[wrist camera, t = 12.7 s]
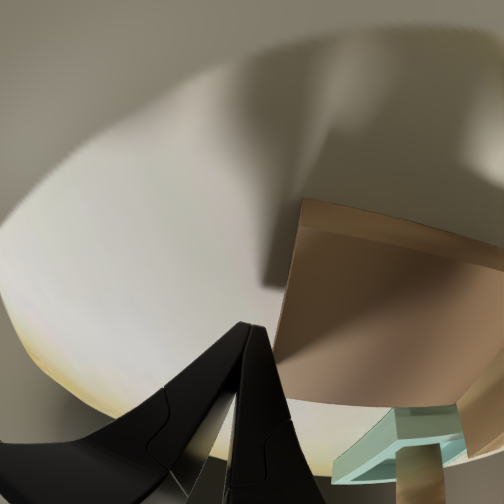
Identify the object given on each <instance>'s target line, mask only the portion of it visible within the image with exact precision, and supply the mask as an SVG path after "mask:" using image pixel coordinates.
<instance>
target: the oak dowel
mask: <svg viewBox="0 0 504 504" xmlns="http://www.w3.org/2000/svg"><path fill="white" fill-rule="evenodd" d="M395 457H396V482H397V483H396V485H397V486H396V490H397V494H396V498H397V499H396V503H397V504H446V500H445V499H446V497H445V482H444V471H443V462H442V454H441V447H440V443H435V444H427V445H417V446H406V447H402V448H401V449H399V450H398V451H397V452H395Z"/></svg>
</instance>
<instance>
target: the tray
mask: <svg viewBox="0 0 504 504" xmlns="http://www.w3.org/2000/svg"><path fill="white" fill-rule="evenodd" d="M435 443H440V447H441V454H442V462H443V467H445V466H446V465H448V464H450V463H451V462H453V461H454V460H456V459H457V458H459V457H460V456H462V455H463V454H465V453H466V452H467V449H466V444H465V439H464V434H463V429H462V425H461V421H460V416H459V412H458V409H457V405H451V406H435V407H393V408H392V409H391V410H390V412H389V413H388V414H387V415H386V416H385V417H384V418H383V419H382V420H381V421H380V422H379V423H378V424H377V425H375V426H374V427H373V428H372V429H371V430H370V431H369V432H368V433H367V434H366V435H365V436H364V437H363V438H361V439H360V440H359V441H358V442H357V443H356V444H355V445H353V446H352V447H351V448H350V449H349V450H347V451H346V452H345V453H344V454H343V455H341V456H340V457H339V458H338V459H336V460H335V461H334V462H333V471H332V483H331V484H368V483H382V482H393V481H396V457H395V452H397V451H398V450H399V449H401V448H402V447H406V446H417V445H427V444H435Z"/></svg>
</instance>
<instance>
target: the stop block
mask: <svg viewBox="0 0 504 504" xmlns="http://www.w3.org/2000/svg"><path fill="white" fill-rule="evenodd" d="M456 405H457V409H458V412H459V416H460V421H461V425H462V429H463V434H464V439H465V444H466V449H467V455H468V458H471V457H475V456H478V455H481V454H485V453H488V452H491V451H494V450H496V449H499V448H500V447H502V446H503V445H504V345H503V347H502V348H501V349H500V351H499V352H498V354H497V355H496V356H495V358H494V359H493V360H492V362H491V363H490V364H489V365H488V367H487V368H486V369H485V370H484V372H483V373H482V374H481V375H480V376H479V378H478V379H477V380H476V381H475V382H474V383H473V385H472V386H471V387H470V388H469V389H468V390H467V391H466V392H465V393H464V394H463V396H462V397H461V398H460V399H459V400H458V401H457V402H456Z"/></svg>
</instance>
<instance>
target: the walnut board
mask: <svg viewBox="0 0 504 504" xmlns="http://www.w3.org/2000/svg"><path fill="white" fill-rule="evenodd" d="M503 345H504V250H503V249H500V248H497V247H495V246H492V245H489V244H486V243H482V242H479V241H476V240H473V239H470V238H467V237H463V236H460V235H457V234H453V233H450V232H447V231H443V230H440V229H436V228H433V227H429V226H425V225H421V224H418V223H414V222H410V221H406V220H402V219H398V218H394V217H390V216H386V215H382V214H377V213H373V212H369V211H364V210H360V209H355V208H350V207H346V206H341V205H336V204H331V203H326V202H321V201H316V200H310V199H305V198H303V199H302V205H301V211H300V217H299V222H298V228H297V233H296V238H295V244H294V249H293V254H292V259H291V264H290V269H289V274H288V279H287V284H286V289H285V294H284V299H283V303H282V308H281V313H280V317H279V322H278V326H277V331H276V335H275V339H274V344H273V348H272V352H273V355H274V359H275V363H276V366H277V370H278V373H279V377H280V380H281V384H282V387H283V391H284V394H285V398H289V399H296V400H303V401H310V402H318V403H327V404H337V405H349V406H365V407H430V406H445V405H454V404H455V403H456V402H457V401H458V400H459V399H460V398H461V397H462V396H463V394H464V393H465V392H466V391H467V390H468V389H469V388H470V387H471V386H472V385H473V383H474V382H475V381H476V380H477V379H478V378H479V376H480V375H481V374H482V373H483V372H484V370H485V369H486V368H487V367H488V365H489V364H490V363H491V362H492V360H493V359H494V358H495V356H496V355H497V354H498V352H499V351H500V349H501V348H502V347H503Z"/></svg>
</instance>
